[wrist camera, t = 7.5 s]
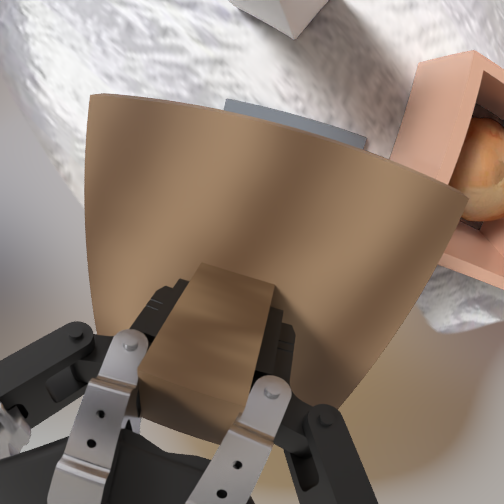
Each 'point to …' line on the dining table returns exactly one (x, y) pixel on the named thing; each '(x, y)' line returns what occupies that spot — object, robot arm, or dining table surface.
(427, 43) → the dining table surface
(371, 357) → the lid
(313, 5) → the milk carton
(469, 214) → the onion
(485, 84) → the tan open box
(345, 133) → the mat
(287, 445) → the robot arm
